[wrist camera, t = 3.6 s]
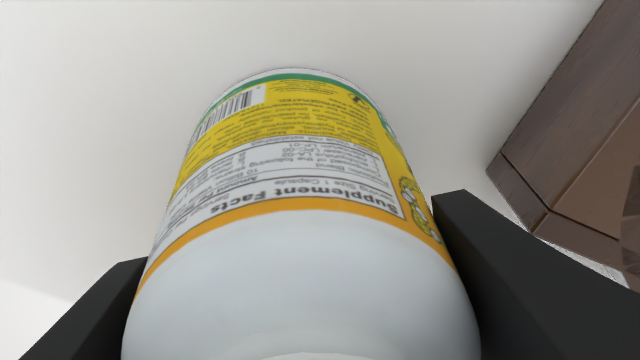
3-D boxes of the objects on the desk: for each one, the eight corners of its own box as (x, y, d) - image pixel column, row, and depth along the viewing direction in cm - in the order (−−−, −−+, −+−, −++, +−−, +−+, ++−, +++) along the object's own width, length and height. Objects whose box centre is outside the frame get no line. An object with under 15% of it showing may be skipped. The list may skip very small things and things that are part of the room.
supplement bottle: (194, 49, 12) (-2, 398, 4) (417, 76, 13) (672, 426, 4) (188, 239, 15) (63, 703, 6) (375, 254, 15) (486, 692, 7)
